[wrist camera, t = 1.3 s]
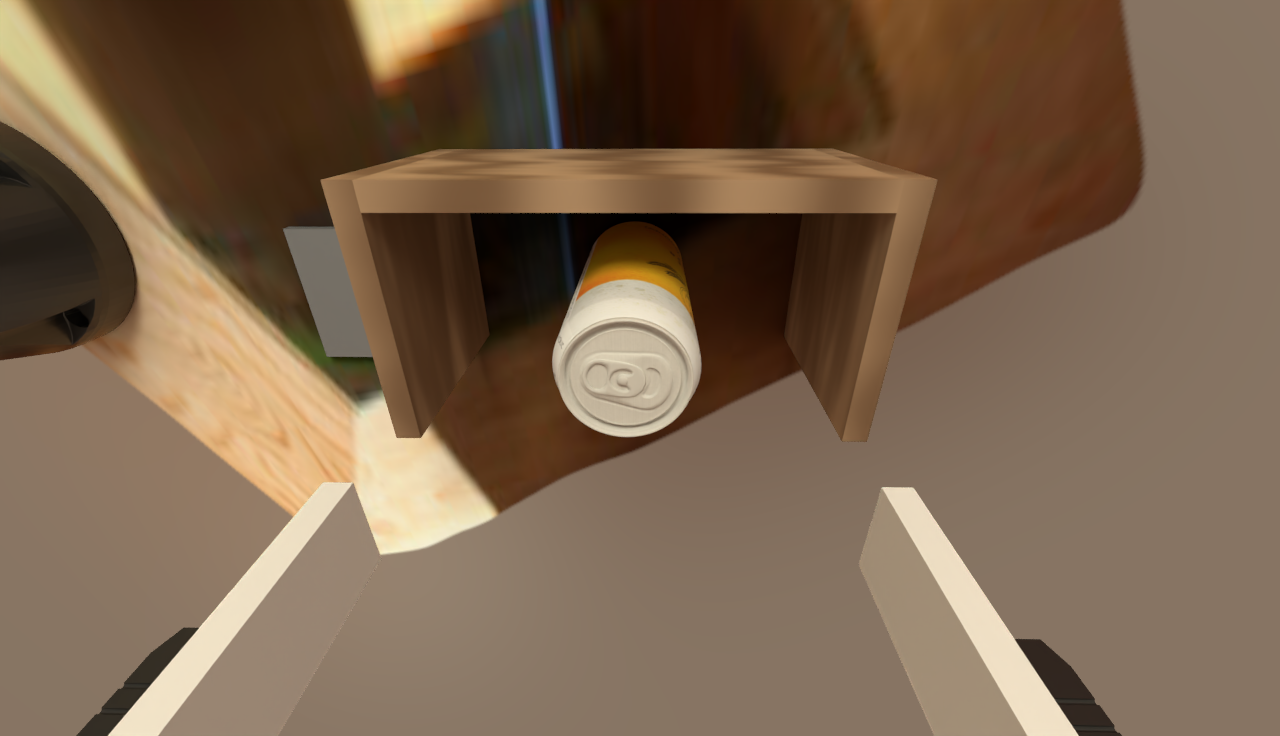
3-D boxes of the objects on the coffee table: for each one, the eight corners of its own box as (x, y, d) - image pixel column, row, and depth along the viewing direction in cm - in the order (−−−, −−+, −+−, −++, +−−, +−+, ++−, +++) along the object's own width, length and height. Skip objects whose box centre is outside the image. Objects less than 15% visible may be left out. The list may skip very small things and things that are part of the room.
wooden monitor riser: (472, 334, 35) (396, 437, 24) (439, 149, 29) (320, 179, 19) (800, 336, 35) (866, 441, 24) (832, 148, 29) (937, 179, 18)
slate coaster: (331, 352, 36) (327, 356, 35) (289, 226, 32) (282, 228, 31) (455, 353, 36) (452, 357, 35) (429, 226, 31) (425, 229, 31)
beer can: (672, 315, 34) (687, 454, 21) (584, 301, 34) (542, 434, 21) (690, 226, 31) (720, 323, 18) (594, 210, 31) (552, 297, 18)
